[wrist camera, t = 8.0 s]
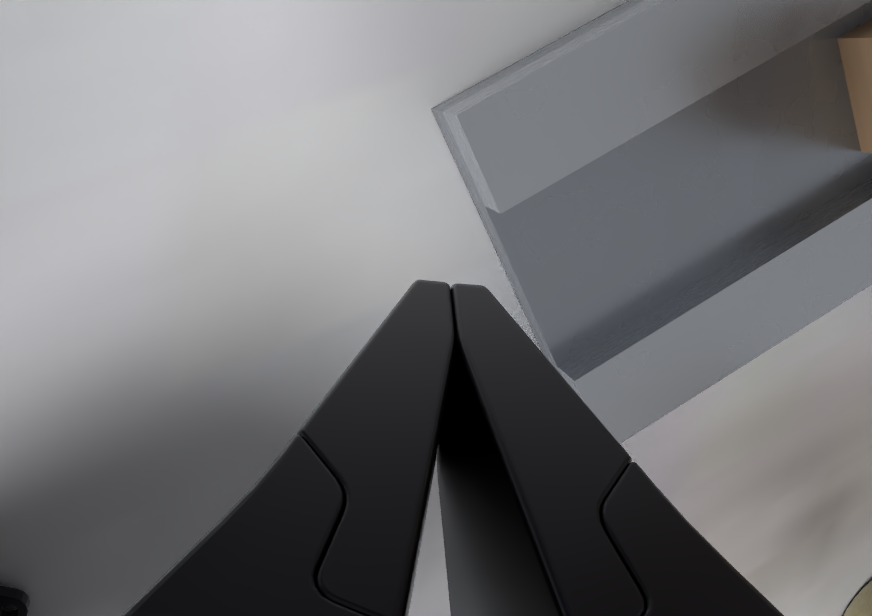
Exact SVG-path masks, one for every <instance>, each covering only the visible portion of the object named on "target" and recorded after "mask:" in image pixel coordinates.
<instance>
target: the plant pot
mask: <svg viewBox="0 0 872 616" xmlns="http://www.w3.org/2000/svg"><path fill="white" fill-rule="evenodd" d="M843 616H872V580H871V581H870V582H869V583H868V584H867V585H866V586H865V587H864V588H863V589H862V590H861V591H860V592H859V594H858V595H857V596H856V597H855V598H854V599H853V601H852V602H851V604H850V605H849V607H848V608H847V609H846V611H845V613H844V615H843Z"/></svg>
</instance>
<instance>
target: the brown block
mask: <svg viewBox="0 0 872 616" xmlns="http://www.w3.org/2000/svg"><path fill="white" fill-rule="evenodd" d="M837 40H838V44H839V49H840V54H841V59H842V63H843V68H844V73H845V77H846V82H847V87H848V92H849V96H850V101H851V106H852V111H853V115H854V120H855V125H856V129H857V134H858V139H859V144H860V148H861V152H868V153H872V19H870V20H868V21H867V22H865V23H863V24H861V25H860V26H858V27H856V28H855V29H853V30H851V31H849V32H848V33H846V34H844V35H843V36H841V37H839V38H837Z"/></svg>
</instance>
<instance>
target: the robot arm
mask: <svg viewBox="0 0 872 616" xmlns="http://www.w3.org/2000/svg"><path fill="white" fill-rule="evenodd" d="M436 455H437V472H438V485H439V496H440V506H441V517H442V527H443V538H444V548H445V558H446V569H447V579H448V590H449V600H450V611H451V616H784V615H783V614H782V613H781V612H780V611H779V610H777V609H776V608H775V607H774V606H773V605H772V604H771V603H770V602H769V601H768V600H767V599H766V598H765V597H764V596H763V595H762V594H761V593H760V592H759V591H758V590H757V589H756V588H755V587H754V586H753V585H752V584H750V583H749V582H748V581H747V580H746V579H745V578H744V577H743V576H742V575H741V574H740V573H739V572H738V571H737V570H736V569H735V568H734V567H733V566H732V565H731V564H730V563H729V562H728V561H727V560H726V559H725V558H724V557H723V556H722V555H721V554H720V553H719V552H718V551H717V550H716V549H715V548H714V547H713V546H712V545H711V544H710V543H709V542H708V541H707V540H706V539H705V538H704V537H703V536H702V535H701V534H700V533H699V532H698V531H697V530H696V529H695V528H694V527H693V526H692V525H691V524H690V523H689V522H688V521H687V520H686V519H685V518H684V517H683V516H682V515H681V513H680V512H679V511H678V510H677V509H676V508H675V507H674V506H673V505H672V503H671V502H670V501H669V500H668V499H667V498H666V497H665V496H664V495H663V493H662V492H661V491H660V490H659V489H658V488H657V487H656V486H655V484H654V483H653V482H652V481H651V480H650V479H649V477H648V476H647V475H646V474H645V473H644V472H643V470H642V469H641V468H640V467H639V466H638V465H637V463H635V462H631V461H632V459H631V457H630V456H629V454H628V453H627V452H626V451H625V450H624V448H623V447H622V446H621V445H620V444H619V443H618V441H617V440H616V439H615V438H614V437H613V436H612V434H611V433H610V432H609V431H608V430H607V429H606V427H605V426H604V425H603V424H602V423H601V421H600V420H599V419H598V418H597V417H596V416H595V414H594V413H593V412H592V411H591V410H590V409H589V407H588V406H587V405H586V404H585V403H584V402H583V400H582V399H581V398H580V397H579V396H578V394H577V393H576V392H575V391H574V390H573V389H572V387H571V386H570V385H569V384H568V383H567V382H566V380H565V379H564V378H563V377H562V376H561V375H560V373H559V372H558V371H557V370H556V369H555V367H554V366H553V365H552V364H551V363H550V362H549V360H548V359H547V358H546V357H545V356H544V355H543V353H542V352H541V351H540V350H539V349H538V348H537V346H536V345H535V344H534V343H533V342H532V340H531V339H530V338H529V337H528V336H527V335H526V333H525V332H524V331H523V330H522V329H521V328H520V326H519V325H518V324H517V323H516V322H515V321H514V319H513V318H512V317H511V316H510V315H509V313H508V312H507V311H506V310H505V309H504V308H503V306H502V305H501V304H500V303H499V302H498V301H497V299H496V298H495V297H494V296H493V295H492V293H491V292H490V291H489V290H488V289H487V288H486V287H484V286H480V285H469V284H454V285H452V286H451V288H450V286H449V285H448V284H447V283H445V282H437V281H427V280H417V281H415V282H414V283H413V284H412V285H411V287H410V288H409V289H408V291H407V292H406V293H405V294H404V296H403V297H402V298H401V300H400V301H399V302H398V303H397V305H396V306H395V307H394V309H393V310H392V311H391V312H390V314H389V315H388V316H387V318H386V319H385V320H384V321H383V323H382V324H381V325H380V327H379V328H378V329H377V330H376V332H375V333H374V334H373V336H372V337H371V338H370V339H369V341H368V342H367V343H366V345H365V346H364V347H363V348H362V350H361V351H360V352H359V354H358V355H357V356H356V358H355V359H354V360H353V361H352V363H351V364H350V365H349V367H348V368H347V369H346V370H345V372H344V373H343V374H342V376H341V377H340V378H339V379H338V381H337V382H336V383H335V385H334V386H333V387H332V388H331V390H330V391H329V392H328V394H327V395H326V396H325V397H324V399H323V400H322V401H321V403H320V404H319V405H318V406H317V408H316V409H315V410H314V412H313V413H312V414H311V415H310V417H309V418H308V419H307V421H306V422H305V423H304V424H303V426H302V427H301V428H300V430H299V431H298V433H297V435H296V436H294V437H293V438H292V439H291V441H290V442H289V443H288V444H287V446H286V447H285V448H284V450H283V451H282V452H281V454H280V455H279V456H278V457H277V459H276V460H275V461H274V462H273V463H272V465H271V466H270V467H269V468H268V469H267V470H266V472H265V473H264V474H263V475H262V476H261V478H260V479H259V480H258V481H257V482H256V483H255V485H254V486H253V487H252V488H251V489H250V491H249V492H248V493H247V494H246V495H245V496H244V497H243V498H242V499H241V500H240V501H239V502H238V503H237V504H236V505H235V506H234V507H233V508H232V509H231V510H230V511H229V512H228V513H227V514H226V515H225V516H224V517H223V518H222V519H221V520H220V521H219V522H218V523H217V524H216V525H215V526H214V527H213V528H212V529H211V530H210V531H209V532H208V533H207V534H206V535H205V536H204V537H203V538H202V539H201V540H200V541H199V542H198V543H197V544H196V545H195V546H194V547H193V548H192V549H191V550H189V551H188V552H187V553H186V554H185V555H184V556H183V557H182V558H181V559H180V560H179V561H178V562H177V563H176V564H175V565H174V566H173V567H172V568H171V569H170V570H169V571H168V572H167V573H166V574H165V575H164V576H163V577H162V578H161V579H159V580H158V581H157V582H156V583H155V584H154V585H153V586H152V587H151V588H150V589H149V590H148V591H147V592H146V593H145V594H144V595H143V596H142V597H141V598H140V599H139V600H138V601H137V602H136V603H135V604H134V605H133V606H132V607H131V608H130V609H128V610H127V611H126V612H125V613H124V614H123V615H122V616H408V613H409V608H410V602H411V597H412V591H413V585H414V580H415V574H416V568H417V563H418V557H419V552H420V546H421V540H422V535H423V529H424V523H425V518H426V512H427V507H428V501H429V495H430V490H431V484H432V478H433V473H434V467H435V461H436ZM29 604H30V600H29V597H28V595H27V594H26V593H25V592H23V591H20V590H18V589H13V588H9V587H4V586H0V616H27V612H28V609H29ZM6 605H13V606H15V607H16V608H17V609H16V610H13V611H7V610H5V609H3V608H2V607H3V606H6Z"/></svg>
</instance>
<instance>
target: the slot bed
mask: <svg viewBox="0 0 872 616" xmlns="http://www.w3.org/2000/svg"><path fill="white" fill-rule="evenodd" d="M870 19H872V0H629V1H628V2H626V3H624V4H622V5H620V6H619V7H617V8H615V9H613V10H611V11H609V12H608V13H606V14H604V15H602V16H600V17H598V18H597V19H595V20H593V21H591V22H589V23H588V24H586V25H584V26H582V27H580V28H578V29H577V30H575V31H573V32H571V33H569V34H568V35H566V36H564V37H562V38H560V39H558V40H557V41H555V42H553V43H551V44H549V45H547V46H546V47H544V48H542V49H540V50H538V51H537V52H535V53H533V54H531V55H529V56H527V57H526V58H524V59H522V60H520V61H518V62H516V63H515V64H513V65H511V66H509V67H507V68H506V69H504V70H502V71H500V72H498V73H496V74H495V75H493V76H491V77H489V78H487V79H486V80H484V81H482V82H480V83H478V84H476V85H475V86H473V87H471V88H469V89H467V90H465V91H464V92H462V93H460V94H458V95H456V96H455V97H453V98H451V99H449V100H447V101H445V102H444V103H442V104H440V105H438V106H436V107H435V108H433V109H431V110H432V112H433V114H434V116H435V118H436V120H437V123H438V125H439V127H440V129H441V131H442V134H443V136H444V138H445V140H446V142H447V145H448V147H449V149H450V151H451V153H452V155H453V158H454V160H455V162H456V164H457V166H458V169H459V171H460V173H461V175H462V177H463V180H464V182H465V184H466V186H467V188H468V190H469V193H470V195H471V197H472V199H473V201H474V204H475V206H476V208H477V210H478V212H479V215H480V217H481V219H482V221H483V223H484V225H485V228H486V230H487V232H488V234H489V236H490V239H491V241H492V243H493V245H494V247H495V250H496V252H497V254H498V256H499V258H500V260H501V263H502V265H503V267H504V269H505V271H506V274H507V276H508V278H509V280H510V282H511V285H512V287H513V289H514V291H515V293H516V295H517V298H518V300H519V302H520V304H521V306H522V309H523V311H524V313H525V315H526V317H527V320H528V322H529V324H530V326H531V328H532V330H533V333H534V335H535V337H536V339H537V341H538V344H539V346H540V348H541V350H542V352H543V355H544V356H545V357H546V358H547V359H548V360H549V362H550V363H551V364H552V365H553V366H554V367H555V369H556V370H557V371H558V372H559V373H560V375H561V376H562V377H563V378H564V379H565V380H566V382H567V383H568V384H569V385H570V386H571V387H572V389H573V390H574V391H575V392H576V393H577V394H578V396H579V397H580V398H581V399H582V400H583V402H584V403H585V404H586V405H587V406H588V407H589V409H590V410H591V411H592V412H593V413H594V414H595V416H596V417H597V418H598V419H599V420H600V421H601V423H602V424H603V425H604V426H605V427H606V429H607V430H608V431H609V432H610V433H611V434H612V436H613V437H614V438H615V439H616V440H617V441H618V443H619V444H620V443H622V442H623V441H625V440H626V439H628V438H630V437H631V436H633V435H634V434H636V433H637V432H639V431H641V430H642V429H644V428H645V427H647V426H649V425H650V424H652V423H653V422H655V421H656V420H658V419H660V418H661V417H663V416H664V415H666V414H667V413H669V412H671V411H672V410H674V409H675V408H677V407H679V406H680V405H682V404H683V403H685V402H686V401H688V400H690V399H691V398H693V397H694V396H696V395H698V394H699V393H701V392H702V391H704V390H705V389H707V388H709V387H710V386H712V385H713V384H715V383H716V382H718V381H720V380H721V379H723V378H724V377H726V376H728V375H729V374H731V373H732V372H734V371H735V370H737V369H739V368H740V367H742V366H743V365H745V364H747V363H748V362H750V361H751V360H753V359H754V358H756V357H758V356H759V355H761V354H762V353H764V352H766V351H767V350H769V349H770V348H772V347H773V346H775V345H777V344H778V343H780V342H781V341H783V340H784V339H786V338H788V337H789V336H791V335H792V334H794V333H796V332H797V331H799V330H800V329H802V328H803V327H805V326H807V325H808V324H810V323H811V322H813V321H815V320H816V319H818V318H819V317H821V316H822V315H824V314H826V313H827V312H829V311H830V310H832V309H833V308H835V307H837V306H838V305H840V304H841V303H843V302H845V301H846V300H848V299H849V298H851V297H852V296H854V295H856V294H857V293H859V292H860V291H862V290H864V289H865V288H867V287H868V286H870V285H871V284H872V153H868V152H861V148H860V144H859V139H858V134H857V129H856V125H855V120H854V115H853V111H852V106H851V101H850V96H849V92H848V87H847V82H846V77H845V73H844V68H843V63H842V59H841V54H840V49H839V44H838V40H837V38H839V37H841V36H843V35H844V34H846V33H848V32H849V31H851V30H853V29H855V28H856V27H858V26H860V25H861V24H863V23H865V22H867V21H868V20H870Z"/></svg>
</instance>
